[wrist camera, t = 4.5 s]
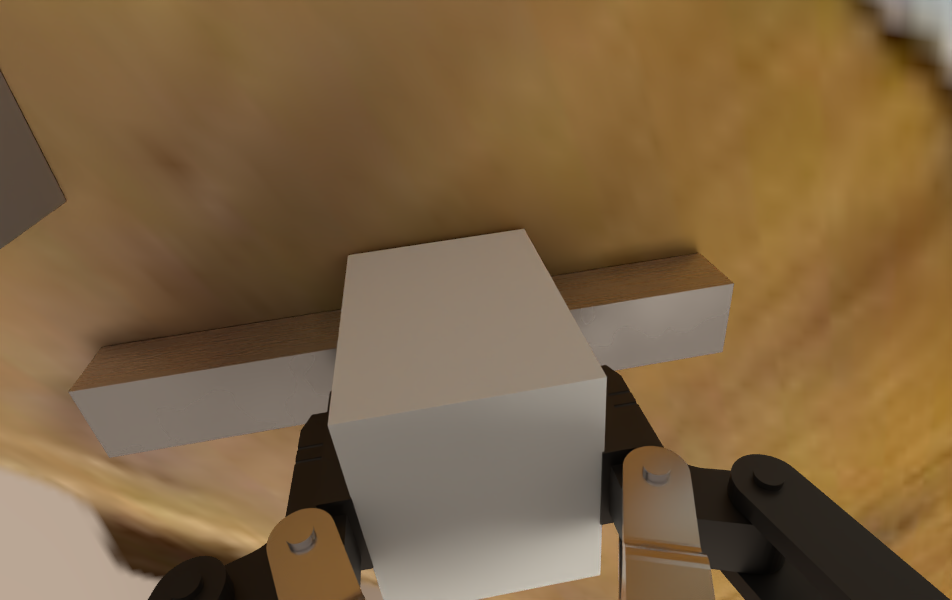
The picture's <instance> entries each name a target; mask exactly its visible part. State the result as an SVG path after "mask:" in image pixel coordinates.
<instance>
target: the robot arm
mask: <svg viewBox="0 0 952 600" xmlns="http://www.w3.org/2000/svg"><path fill="white" fill-rule="evenodd" d="M601 368H602V369H603V371H604V373H605V375H606V376H607V386H606V416H605V446H604V452H602V470H601V503H600V525H603V524H608V523H613V522H614V524H615V527H616V529H617V531H618V534H619V541H618V600H715V595H714V589H713V582H712V575H711V569H717V570H721V572H722V573H723V574H724V575H725V577H726V578H727V579H728V580H729V581H730V582H731V584H732V585H733V586H734V587H735V588H736V590H737V591H738V592H739V593H740V594H741V595H742V597H743V598H744V599H745V600H950V599H949V598H947V597H946V596H945V595H944V594H943V593H942V592H940V591H939V590H938V589H937V588H936V587H934V586H933V585H932V584H931V583H930V582H928V581H927V580H926V579H925V578H924V577H923V576H921V575H920V574H919V573H918V572H917V571H915V570H914V569H913V568H912V567H911V566H909V565H908V564H907V563H906V562H905V561H903V560H902V559H901V558H900V557H899V556H898V555H896V554H895V553H894V552H893V551H892V550H890V549H889V548H888V547H887V546H886V545H884V544H883V543H882V542H881V541H880V540H879V539H877V538H876V537H875V536H874V535H873V534H871V533H870V532H869V531H868V530H867V529H865V528H864V527H863V526H862V525H861V524H859V523H858V522H857V521H856V520H855V519H854V518H852V517H851V516H850V515H849V514H848V513H846V512H845V511H844V510H843V509H842V508H840V507H839V506H838V505H837V504H836V503H835V502H833V501H832V500H831V499H830V498H829V497H827V496H826V495H825V494H824V493H823V492H821V491H820V490H819V489H818V488H817V487H816V486H814V485H813V484H812V483H811V482H810V481H808V480H807V479H806V478H805V477H804V476H802V475H801V474H800V473H799V472H798V471H796V470H795V469H794V468H793V467H791V466H790V465H789V464H787V463H785V462H784V461H782V460H780V459H777V458H774V457H771V456H767V455H760V454H752V455H746V456H743V457H741V458H739V459H738V460H737V461H736V462H735V463H734V464H733V466H732V469H731V471H729V470H717V469H705V468H698V467H694V466H690V465H688V464H686V462H685V461H684V460H683V459H682V458H681V457H680V456H679V455H677V454H676V453H674V452H673V451H671V450H668V449H666V448H664V447H663V446H662V444H661V442H660V440H659V439H658V437H657V435H656V434H655V432H654V430H653V429H652V427H651V425H650V424H649V422H648V420H647V419H646V417H645V415H644V414H643V412H642V410H641V408H640V407H639V405H638V404H637V403H636V400H635V398H634V397H633V395H632V393H630V391H629V388H628V387H627V385H626V383H625V382H624V380H623V378H622V376H621V375H619V374H618V373H617V372H615V371H614V370H612V369H611V368H610V367H608V366H607V365H602V366H601ZM331 393H332V391H330V394H329V401H328V409H327V412H324V413H318V414H313V415H311V417H310V418H309V419H308V421H307V422H306V424H305V425H304V427H303V428H302V430H301V432H300V438H299V444H298V451H297V455H296V464H295V466H294V472H293V478H292V483H291V489H290V495H289V500H288V506H287V512H286V516H285V518H284V519H282V520H281V521H280V522H279V523H278V524H277V525H276V526H275V527H274V529H273V530H272V532H271V533H270V536H269V538H268V541H267V543H266V544H265V545H264V546H262V547H261V548H259V549H258V550H256V551H254V552H252V553H250V554H248V555H246V556H244V557H242V558H240V559H237V560H235V561H233V562H231V563H229V564H227V565H225V566H224V565H223V563H222V562H221V561H220V560H218V559H217V558H214V557H210V556H200V557H195V558H192V559H189V560H187V561H184V562H182V563H181V564H179V565H177V566H176V567H174V568H173V569H172V570H170V571H169V572H168V573H167V574H166V575H165V576H164V577H163V578H162V579H161V580H160V581H159V583H158V584H157V586H156V587H155V589H154V590H153V592H152V594H151V596H150V597H149V599H148V600H365V597H364V595H363V594H362V591H361V589H360V579H361V570H366V569H371V568H374V567H373V564H372V560H371V557H370V554H369V551H368V548H367V545H366V542H365V539H364V535H363V532H362V529H361V526H360V523H359V520H358V517H357V513H356V510H355V507H354V504H353V501H352V498H351V497H350V494H349V491H348V487H347V484H346V481H345V478H344V475H343V472H342V469H341V466H340V462H339V459H338V456H337V453H336V450H335V447H334V444H333V441H332V438H331V434H330V431H329V428H328V418H329V410H330V401H331Z"/></svg>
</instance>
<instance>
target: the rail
mask: <svg viewBox="0 0 952 600" xmlns="http://www.w3.org/2000/svg"><path fill="white" fill-rule="evenodd" d="M551 278H552V280H553V281H554V283H555V285H556V287H557V289H558V290H559V292H560V294H561V296H562V298H563V299H564V301H565V303H566V305H567V307H568V308H569V310H570V312H571V314H572V316H573V317H574V319H575V321H576V323H577V324H578V326H579V328H580V330H581V332H582V333H583V335H584V337H585V339H586V341H587V342H588V344H589V346H590V348H591V350H592V351H593V353H594V355H595V357H596V359H597V360H598V362H599V364H600V366H602V365H607V366H608V367H610V368H611V369H612V370H614V371H615V370H621V369H627V368H632V367H638V366H644V365H650V364H656V363H661V362H667V361H673V360H679V359H685V358H690V357H696V356H702V355H708V354H714V353H719V352H723V346H724V340H725V334H726V328H727V322H728V316H729V310H730V304H731V298H732V292H733V286H734V283H733V282H732V281H731V280H729V279H728V278H727V277H726V276H725V275H724V274H723V273H721V272H720V271H719V270H718V269H717V268H716V267H715V266H713V265H712V264H711V263H710V262H709V261H708V260H707V259H706V258H704V257H703V256H702V255H701V254H700V253H696V254H689V255H683V256H677V257H670V258H664V259H658V260H651V261H645V262H639V263H632V264H626V265H620V266H613V267H607V268H601V269H594V270H588V271H582V272H575V273H569V274H563V275H556V276H551ZM341 310H342V309H341ZM341 310H335V311H328V312H322V313H316V314H309V315H303V316H297V317H290V318H284V319H278V320H271V321H265V322H259V323H252V324H246V325H240V326H233V327H227V328H221V329H214V330H208V331H202V332H195V333H189V334H183V335H176V336H170V337H164V338H157V339H151V340H145V341H138V342H132V343H126V344H119V345H113V346H107V347H102V348H101V349H100V351H99V352H98V353H97V355H96V356H95V357H94V359H93V360H92V361H91V363H90V364H89V365H88V367H87V368H86V369H85V371H84V372H83V373H82V375H81V376H80V377H79V379H78V380H77V381H76V383H75V384H74V385H73V387H72V388H71V389H70V391H69V394H70V395H71V397H72V399H73V400H74V402H75V403H76V405H77V407H78V408H79V410H80V411H81V413H82V415H83V416H84V418H85V419H86V421H87V423H88V424H89V426H90V427H91V429H92V431H93V432H94V434H95V435H96V437H97V439H98V440H99V442H100V443H101V445H102V447H103V448H104V450H105V451H106V453H107V455H108V456H109V458H110V457H116V456H122V455H128V454H134V453H139V452H145V451H151V450H157V449H163V448H168V447H174V446H180V445H186V444H192V443H197V442H203V441H209V440H215V439H221V438H226V437H232V436H238V435H244V434H250V433H255V432H261V431H267V430H273V429H279V428H284V427H290V426H296V425H302V424H306V422H307V421H308V419H309V418H310V417H311V415H313V414H318V413H324V412H327V409H328V401H329V394H330V391H332V385H333V376H334V368H335V360H336V351H337V343H338V335H339V327H340V318H341Z"/></svg>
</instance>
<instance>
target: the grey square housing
mask: <svg viewBox="0 0 952 600" xmlns="http://www.w3.org/2000/svg"><path fill="white" fill-rule="evenodd" d="M65 202H66V199H65V197H64V195H63V193H62V191H61V189H60V187H59V186H58V184H57V182H56V180H55V178H54V176H53V174H52V172H51V170H50V168H49V166H48V164H47V162H46V160H45V158H44V156H43V154H42V152H41V150H40V148H39V146H38V144H37V142H36V140H35V138H34V136H33V134H32V132H31V130H30V128H29V126H28V124H27V123H26V121H25V119H24V117H23V115H22V113H21V111H20V109H19V107H18V105H17V103H16V101H15V99H14V97H13V95H12V93H11V91H10V89H9V87H8V85H7V83H6V81H5V79H4V77H3V75H2V73H1V71H0V249H1V248H3V247H4V246H5V245H7V244H8V243H10V242H11V241H12V240H14V239H15V238H16V237H18V236H19V235H21V234H22V233H23V232H25V231H26V230H28V229H29V228H30V227H32V226H33V225H34V224H36V223H37V222H39V221H40V220H41V219H43V218H44V217H46V216H47V215H48V214H50V213H51V212H52V211H54V210H55V209H57V208H58V207H59V206H61V205H62V204H64V203H65Z"/></svg>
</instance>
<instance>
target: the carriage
mask: <svg viewBox="0 0 952 600" xmlns="http://www.w3.org/2000/svg"><path fill="white" fill-rule="evenodd" d="M606 386H607V376H606V375H605V373H604V371H603V369H602V368H601V366H600V364H599V362H598V360H597V359H596V357H595V355H594V353H593V351H592V350H591V348H590V346H589V344H588V342H587V341H586V339H585V337H584V335H583V333H582V332H581V330H580V328H579V326H578V324H577V323H576V321H575V319H574V317H573V316H572V314H571V312H570V310H569V308H568V307H567V305H566V303H565V301H564V299H563V298H562V296H561V294H560V292H559V290H558V289H557V287H556V285H555V283H554V281H553V280H552V278H551V276H550V274H549V272H548V271H547V269H546V267H545V265H544V264H543V262H542V260H541V258H540V256H539V255H538V253H537V251H536V249H535V247H534V246H533V244H532V242H531V240H530V238H529V237H528V235H527V233H526V231H525V229H519V230H512V231H506V232H499V233H492V234H486V235H479V236H472V237H466V238H459V239H453V240H446V241H439V242H433V243H426V244H419V245H413V246H406V247H399V248H393V249H386V250H380V251H373V252H366V253H360V254H353V255H348V260H347V268H346V277H345V285H344V293H343V302H342V310H341V318H340V327H339V335H338V343H337V351H336V360H335V368H334V376H333V385H332V393H331V401H330V410H329V418H328V428H329V431H330V434H331V438H332V441H333V444H334V447H335V450H336V453H337V456H338V459H339V462H340V466H341V469H342V472H343V475H344V478H345V481H346V484H347V487H348V491H349V494H350V497H351V498H352V501H353V504H354V507H355V510H356V513H357V517H358V520H359V523H360V526H361V529H362V532H363V535H364V539H365V542H366V545H367V548H368V551H369V554H370V557H371V560H372V564H373V567H374V568H373V569H374V572H375V575H376V578H377V581H378V584H379V587H380V590H381V594H382V597H383V600H478V599H483V598H488V597H493V596H498V595H503V594H508V593H513V592H518V591H523V590H528V589H533V588H538V587H543V586H548V585H552V584H557V583H562V582H567V581H572V580H577V579H582V578H587V577H592V576H597V575H600V566H601V536H602V525H600V503H601V470H602V452H604V446H605V416H606Z"/></svg>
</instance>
